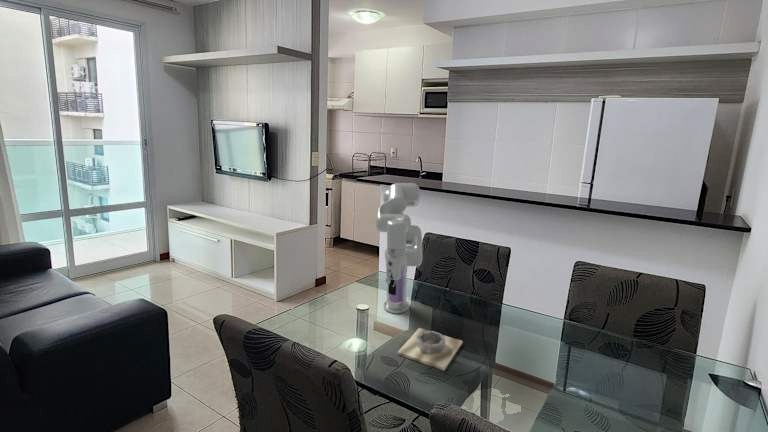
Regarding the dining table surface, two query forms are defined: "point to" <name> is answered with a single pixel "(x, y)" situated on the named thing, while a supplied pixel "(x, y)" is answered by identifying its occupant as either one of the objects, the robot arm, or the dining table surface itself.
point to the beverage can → (397, 291)
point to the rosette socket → (431, 348)
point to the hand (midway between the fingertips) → (396, 290)
